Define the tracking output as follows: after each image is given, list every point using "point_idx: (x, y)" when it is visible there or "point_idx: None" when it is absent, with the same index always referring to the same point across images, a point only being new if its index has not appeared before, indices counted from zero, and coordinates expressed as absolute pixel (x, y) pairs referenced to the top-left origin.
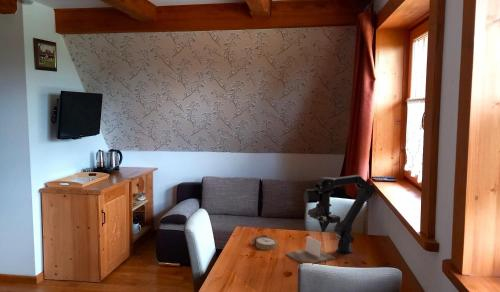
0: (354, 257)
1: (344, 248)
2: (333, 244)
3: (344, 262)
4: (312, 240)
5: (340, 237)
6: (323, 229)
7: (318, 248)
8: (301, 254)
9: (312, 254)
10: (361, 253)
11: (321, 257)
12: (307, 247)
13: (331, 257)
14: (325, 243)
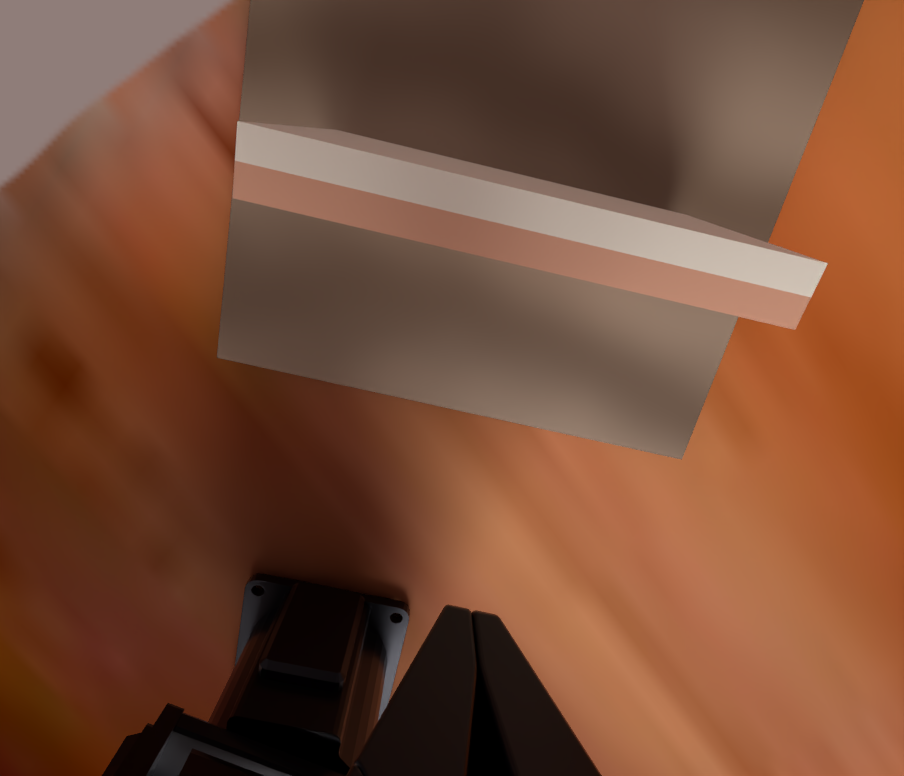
0: (124, 583)
1: (258, 650)
2: None
3: (67, 355)
4: (567, 196)
5: (196, 759)
6: (406, 673)
7: (331, 135)
8: (651, 20)
9: None
10: None
11: None
12: (662, 211)
13: (231, 315)
14: (654, 710)
